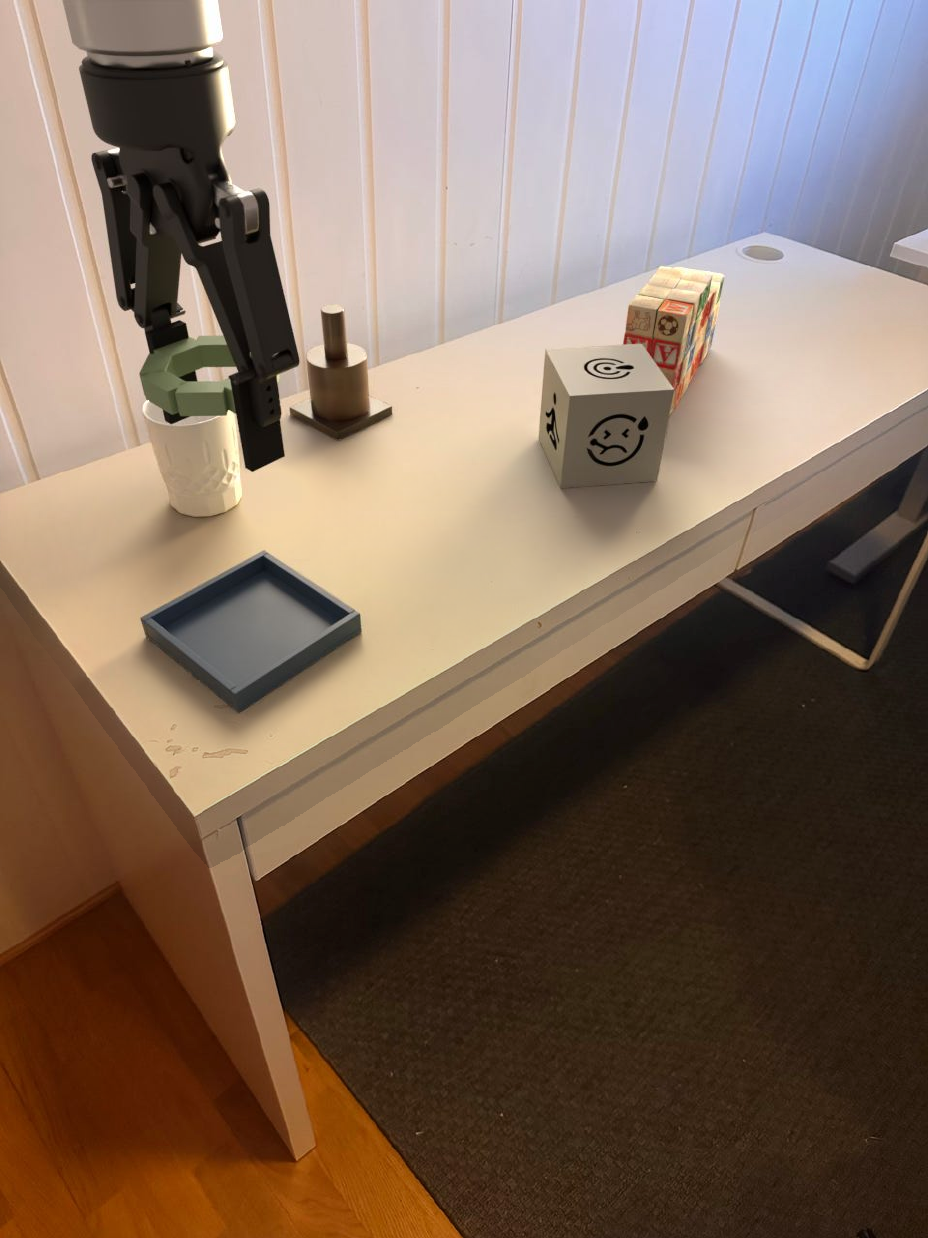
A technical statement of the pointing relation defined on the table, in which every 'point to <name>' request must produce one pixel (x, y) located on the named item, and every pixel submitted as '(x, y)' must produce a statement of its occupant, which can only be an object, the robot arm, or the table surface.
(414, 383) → the table surface
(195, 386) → the ring
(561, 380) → the icon cube
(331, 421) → the peg stand
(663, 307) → the stack of blocks
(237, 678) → the tray
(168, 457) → the white cup
